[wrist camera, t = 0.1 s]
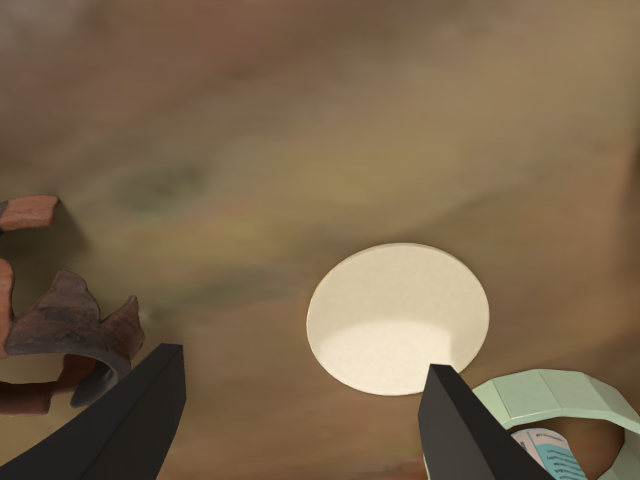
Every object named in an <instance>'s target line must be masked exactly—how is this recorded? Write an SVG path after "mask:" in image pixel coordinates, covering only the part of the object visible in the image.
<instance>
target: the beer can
mask: <svg viewBox="0 0 640 480" xmlns="http://www.w3.org/2000/svg"><path fill="white" fill-rule="evenodd" d="M511 436H512V437H513V438H514V439H515V440H516V441H517V442H518V443H519V444H520V445H521V446H522V447H523V448H524V449H525V450H526V451H527V452H528V453H529V454H530V455H531V456H532V457H533V458H534V459H535V460H536V461H537V462H538V463H539V464H540V465H541V466H542V467H543V468H544V469H545V470H546V471H547V472H549V473H550V474H551V475H552V476H553V477H554V478H555V479H556V480H588V479H587V478H586V476H585V474H584V473H583V471H582V469H581V468H580V466H579V464H578V463H577V461H576V459H575V458H574V456H573V454H572V453H571V451H570V448H569V445H568V443H567V441H566V439H565V438H564V437H563V436H561V435H560V434H558V433H557V432H555V431H551V430H548V429H543V428H530V429H524V430H520V431H517V432H515V433H513V434H511Z"/></svg>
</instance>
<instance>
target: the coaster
mask: <svg viewBox="0 0 640 480" xmlns="http://www.w3.org/2000/svg"><path fill="white" fill-rule="evenodd" d="M488 326H489V305H488V301H487V297H486V294H485V292H484V290H483V287H482V285H481V284H480V282H479V281H478V279H477V278H476V276H475V275H474V273H473V272H472V271H471V270H470V269H469V268H468V267H467V266H466V265H465V264H464V263H462V262H461V261H460V260H459V259H457V258H456V257H454V256H452V255H450V254H449V253H447V252H444V251H442V250H440V249H437V248H434V247H430V246H427V245H422V244H415V243H391V244H383V245H379V246H374V247H371V248H368V249H365V250H362V251H360V252H358V253H356V254H354V255H351V256H350V257H348V258H346V259H345V260H343V261H342V262H340V263H339V264H338V265H336V266H335V267H334V268H333V269H332V270H330V272H329V273H328V274H327V275H326V276H325V277H324V278H323V279H322V281H321V282H320V284H319V285H318V286H317V288H316V290H315V292H314V294H313V296H312V298H311V301H310V304H309V308H308V314H307V335H308V340H309V343H310V346H311V349H312V351H313V353H314V355H315V357H316V358H317V360H318V361H319V363H320V364H321V365H322V366H323V367H324V368H325V370H326V371H327V372H328V373H330V374H331V375H332V376H333V377H335V378H336V379H337V380H339V381H341V382H342V383H344V384H346V385H348V386H350V387H352V388H355V389H357V390H360V391H363V392H368V393H372V394H379V395H407V394H413V393H418V392H421V391H424V387H425V383H426V378H427V374H428V370H429V366H430V363H431V364H444V365H451V366H452V367H453V368H454V369H455V371H456V372H457V373H460V372H461V371H462V370H463V369H464V368H465V367H466V366H467V365H468V364H469V363H470V362H471V361H472V360H473V359H474V357H475V356H476V355H477V353H478V352H479V350H480V348H481V346H482V345H483V343H484V340H485V337H486V335H487V331H488Z"/></svg>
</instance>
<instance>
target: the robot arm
mask: <svg viewBox="0 0 640 480" xmlns="http://www.w3.org/2000/svg"><path fill="white" fill-rule="evenodd" d="M185 401H186V385H185V372H184V358H183V345H177V344H164V343H161V344H160V345H159V346H158V347H156V348H155V349H154V350H153V351H152V352H151V353H150V354H149V355H148V356H146V357H145V358H144V359H143V360H142V361H141V362H140V363H139V364H138V365H137V366H135V367H134V368H133V369H132V370H131V371H130V372H129V373H128V374H127V375H125V376H124V377H123V378H122V379H121V380H120V381H119V382H117V383H116V384H115V385H114V386H113V387H112V388H110V389H109V390H108V391H107V392H106V393H105V394H103V395H102V396H101V397H100V398H99V399H97V400H96V401H95V402H94V403H92V404H91V405H90V406H88V407H87V408H86V409H85V410H83V411H82V412H81V413H80V414H78V415H77V416H76V417H75V418H73V419H72V420H71V421H69V422H68V423H67V424H65V425H64V426H62V427H61V428H60V429H58V430H57V431H56V432H54V433H53V434H51V435H50V436H48V437H47V438H45V439H44V440H42V441H41V442H39V443H38V444H37V445H35V446H33V447H32V448H30V449H29V450H27V451H26V452H24V453H22V454H21V455H19V456H17V457H16V458H14V459H12V460H11V461H9V462H8V463H6V464H4V465H3V466H1V467H0V480H156V478H157V475H158V473H159V471H160V468H161V466H162V464H163V462H164V459H165V457H166V455H167V452H168V450H169V448H170V445H171V443H172V441H173V438H174V436H175V434H176V431H177V428H178V425H179V421H180V418H181V415H182V412H183V408H184V405H185ZM418 421H419V429H420V436H421V442H422V448H423V453H424V457H425V461H426V464H427V468H428V472H429V476H430V480H556V479H555V478H554V477H553V476H552V475H551V474H550V473H549V472H547V471H546V470H545V469H544V468H543V467H542V466H541V465H540V464H539V463H538V462H537V461H536V460H535V459H534V458H533V457H532V456H531V455H530V454H529V453H528V452H527V451H526V450H525V449H524V448H523V447H522V446H521V445H520V444H519V443H518V442H517V441H516V440H515V439H514V438H513V437H512V436H511V435H510V434H509V433H508V432H507V431H506V429H505V428H504V427H503V426H502V425H501V424H500V423H499V422H498V421H497V419H496V418H495V417H494V416H493V415H492V414H491V413H490V411H489V410H488V409H487V408H486V407H485V406H484V404H483V403H482V402H481V401H480V400H479V398H478V397H477V396H476V395H475V394H474V392H473V391H472V390H471V389H470V388H469V386H468V385H467V384H466V383H465V381H464V380H463V379H462V378H461V377H460V375H459V374H458V373H457V372H456V371H455V369H454V368H453V367H452V366H451V365H444V364H431V363H430V366H429V370H428V374H427V378H426V383H425V387H424V391H423V395H422V399H421V403H420V407H419V412H418Z"/></svg>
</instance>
